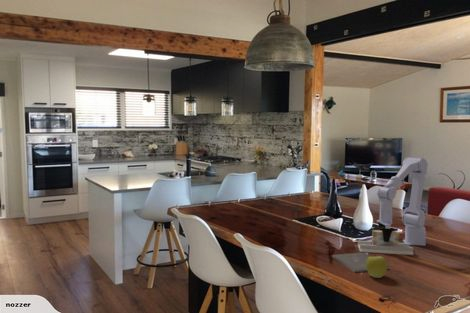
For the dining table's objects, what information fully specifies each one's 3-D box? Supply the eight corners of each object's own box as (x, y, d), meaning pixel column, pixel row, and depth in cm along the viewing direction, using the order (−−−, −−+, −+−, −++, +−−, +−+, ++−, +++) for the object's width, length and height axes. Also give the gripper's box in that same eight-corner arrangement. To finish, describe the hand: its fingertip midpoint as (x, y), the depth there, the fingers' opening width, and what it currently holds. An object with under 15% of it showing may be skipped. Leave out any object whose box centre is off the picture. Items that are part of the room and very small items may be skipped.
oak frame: (397, 247, 199) (398, 231, 198) (398, 249, 196) (399, 233, 195) (371, 246, 201) (372, 230, 201) (372, 247, 198) (373, 231, 198)
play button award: (354, 270, 169) (332, 254, 188) (354, 273, 169) (332, 258, 189) (389, 266, 173) (363, 252, 192) (389, 270, 173) (363, 255, 192)
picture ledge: (408, 248, 201) (408, 242, 201) (413, 254, 192) (413, 248, 191) (357, 245, 206) (358, 239, 206) (360, 251, 196) (360, 245, 196)
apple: (389, 278, 159) (382, 253, 160) (369, 281, 162) (362, 257, 163) (390, 272, 167) (383, 248, 167) (370, 275, 170) (363, 251, 170)
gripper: (375, 208, 205) (374, 235, 206) (379, 214, 191) (378, 243, 192) (389, 209, 204) (388, 235, 205) (395, 215, 189) (394, 244, 191)
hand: (385, 239), depth 198 cm, fingers open, 7 cm apart
